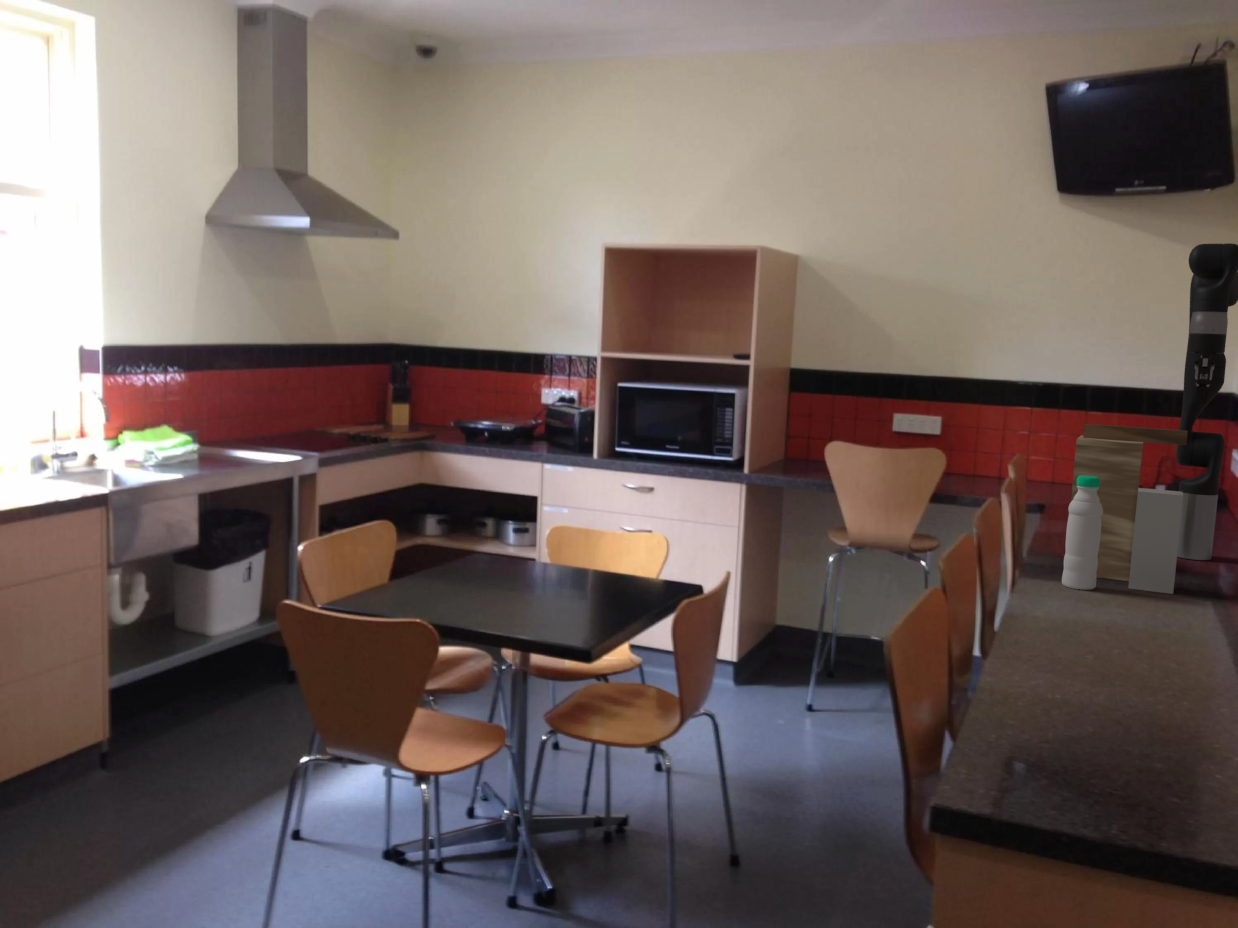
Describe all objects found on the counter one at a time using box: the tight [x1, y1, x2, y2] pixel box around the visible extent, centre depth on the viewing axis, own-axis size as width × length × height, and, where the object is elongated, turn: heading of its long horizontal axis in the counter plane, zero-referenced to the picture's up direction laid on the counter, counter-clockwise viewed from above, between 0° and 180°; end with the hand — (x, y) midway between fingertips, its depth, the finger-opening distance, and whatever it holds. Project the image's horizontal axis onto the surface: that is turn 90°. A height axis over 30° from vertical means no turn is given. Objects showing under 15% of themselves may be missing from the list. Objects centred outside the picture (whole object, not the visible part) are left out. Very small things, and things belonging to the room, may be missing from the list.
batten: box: [1082, 423, 1188, 446], centre depth 256 cm, size 3×22×3 cm, turn 63°
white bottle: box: [1061, 475, 1103, 591], centre depth 240 cm, size 7×7×25 cm
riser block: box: [1128, 487, 1183, 595], centre depth 243 cm, size 8×9×22 cm
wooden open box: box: [1070, 434, 1144, 582], centre depth 260 cm, size 18×14×32 cm
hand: (1200, 403), depth 248 cm, fingers open, 8 cm apart
